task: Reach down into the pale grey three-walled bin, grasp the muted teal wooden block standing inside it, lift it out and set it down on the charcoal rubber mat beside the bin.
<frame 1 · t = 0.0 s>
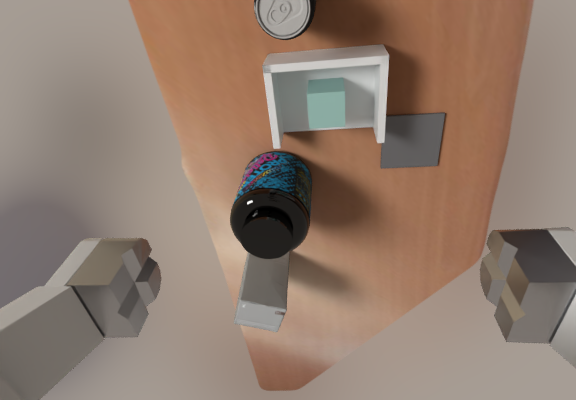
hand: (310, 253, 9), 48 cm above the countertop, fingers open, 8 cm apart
bin: (326, 91, 55), on the countertop
container: (278, 178, 65), on the countertop
block: (326, 95, 55), resting on bin
mat: (410, 141, 58), on the countertop
skincare box: (269, 253, 76), on the countertop
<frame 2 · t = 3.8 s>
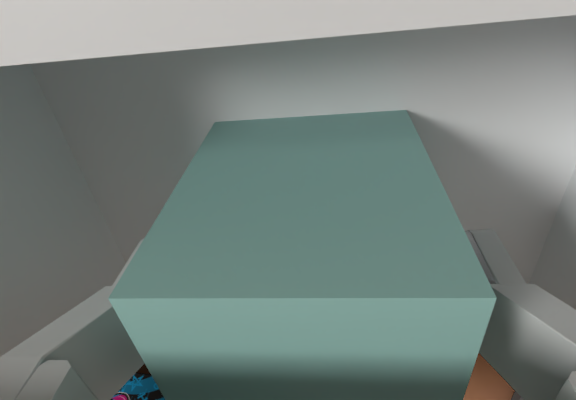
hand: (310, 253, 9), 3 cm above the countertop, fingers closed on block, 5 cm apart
bin: (312, 173, 11), on the countertop
block: (313, 195, 11), resting on bin, touching gripper
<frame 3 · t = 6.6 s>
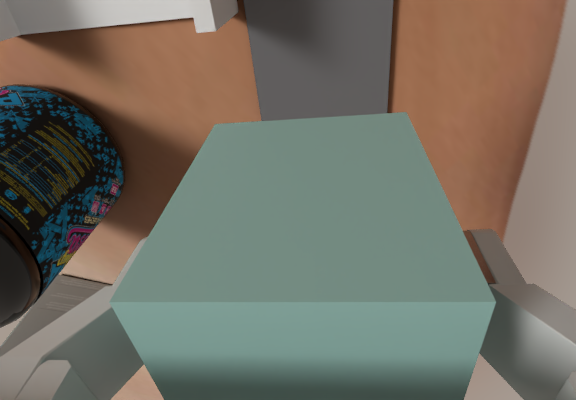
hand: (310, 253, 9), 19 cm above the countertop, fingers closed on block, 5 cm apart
container: (59, 150, 31), on the countertop
block: (313, 196, 11), point 17 cm above the countertop, touching gripper
mat: (320, 54, 24), on the countertop
skincare box: (99, 295, 41), on the countertop
when the fingers open (4 cm above the countertop, at t = 9.7 s): block stays where it is, resting on mat.
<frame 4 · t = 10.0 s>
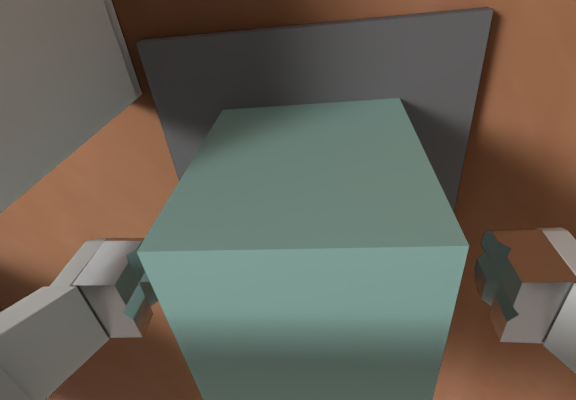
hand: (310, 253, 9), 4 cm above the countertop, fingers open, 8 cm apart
block: (313, 179, 12), resting on mat
mat: (314, 172, 12), on the countertop
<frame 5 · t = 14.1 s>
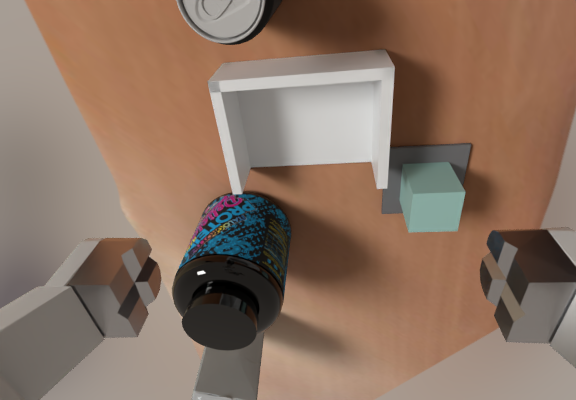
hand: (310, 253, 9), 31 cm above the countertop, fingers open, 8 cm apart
bin: (306, 114, 40), on the countertop
container: (247, 223, 49), on the countertop
block: (423, 181, 43), resting on mat
mat: (422, 179, 43), on the countertop
skincare box: (241, 310, 60), on the countertop
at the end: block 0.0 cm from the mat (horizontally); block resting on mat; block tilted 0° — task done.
